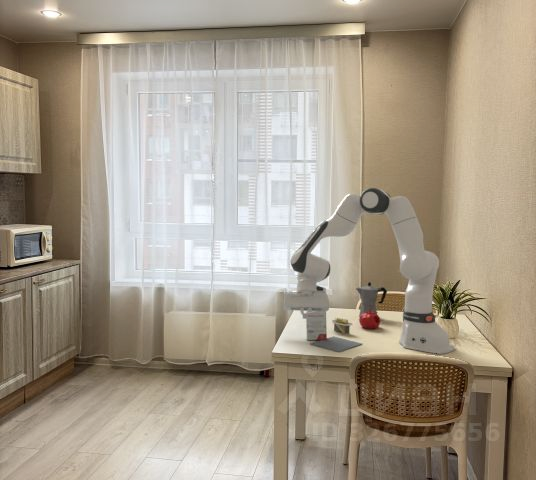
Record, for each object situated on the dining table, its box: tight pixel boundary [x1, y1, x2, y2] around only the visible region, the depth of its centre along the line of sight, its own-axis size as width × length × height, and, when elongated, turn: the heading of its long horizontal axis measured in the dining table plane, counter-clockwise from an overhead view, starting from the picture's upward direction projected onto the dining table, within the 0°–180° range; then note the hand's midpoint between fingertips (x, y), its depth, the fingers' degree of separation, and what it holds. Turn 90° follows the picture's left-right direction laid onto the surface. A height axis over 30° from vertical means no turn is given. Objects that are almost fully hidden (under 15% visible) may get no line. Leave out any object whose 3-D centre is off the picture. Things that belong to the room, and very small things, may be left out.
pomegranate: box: [358, 308, 382, 330], centre depth 258 cm, size 10×10×9 cm
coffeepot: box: [355, 281, 388, 318], centre depth 277 cm, size 15×9×18 cm, turn 87°
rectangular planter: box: [331, 317, 353, 334], centre depth 248 cm, size 12×18×7 cm, turn 52°
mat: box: [309, 335, 363, 353], centre depth 229 cm, size 15×16×1 cm
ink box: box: [305, 311, 328, 341], centre depth 236 cm, size 9×5×12 cm, turn 84°
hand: (305, 318), depth 240 cm, fingers closed
